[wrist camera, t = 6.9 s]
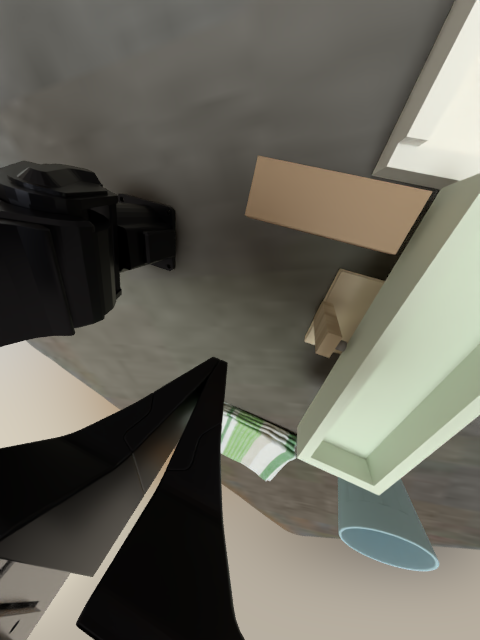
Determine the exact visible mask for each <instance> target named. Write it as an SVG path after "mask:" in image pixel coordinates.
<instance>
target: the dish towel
mask: <svg viewBox="0 0 480 640" xmlns="http://www.w3.org/2000/svg"><path fill="white" fill-rule="evenodd" d="M296 445H297V436H295V435H293V434H290V433H289V432H287V431H285V430H283V429H281V428H279V427H277V426H275V425H272V424H270V423H268V422H266V421H264V420H262V419H260V418H258V417H256V416H254V415H251V414H249V413H247V412H245V411H242V410H240V409H238V408H236V407H233V406H231V405H229V404H227V403H225V402H224V409H223V420H222V432H221V453H222V454H223V455H225V456H227V457H229V458H231V459H233V460H235V461H237V462H240V463H242V464H244V465H245V466H246V467H248V468H249V469H251V470H253V471H254V472H255V473H257V474H258V475H259V476H260V477H261V478H262V479H263V480H265V481H267V480H269V481H271V480H272V479H273V477H274V476H275V475H276V474H277V473H278V472H279V471H280V470H281V468H282V467H283V466H284V465H285V464H286V463H288V462H289V461H291V460H293V459H296V457H297V454H296V453H295V452H294V451H295V447H296Z"/></svg>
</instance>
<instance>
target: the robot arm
mask: <svg viewBox="0 0 480 640" xmlns="http://www.w3.org/2000/svg"><path fill="white" fill-rule="evenodd" d="M123 198H124V201H123ZM118 202H119V203H118ZM169 210H170V215H169V212H168V211H169ZM148 264H151V265H154V266H157V267H160V268H163V269H166V270H169V271H171V270H173V269H174V267H175V211H174V209H173V208H172V207H170V206H166V205H163V204H159V203H155V202H152V201H148V200H144V199H141V198H137V197H133V196H130V195H126V194H119V195H117V194H115V193H113V192H110V191H108V190H106V189H105V188H103V185H102V184H101V183H100V181H99V180H98V178H97V176H96V175H95V173H94V172H92V171H90V170H87V169H83V168H78V167H74V166H68V165H62V164H42V165H40V164H36V163H32V162H27V161H21V162H18V163H15V164H12V165H8V166H5V167H2V168H0V347H2V346H5V345H9V344H13V343H17V342H20V341H24V340H29V339H33V338H39V337H47V336H72V335H74V334H75V330H74V328H79V327H83V326H87V325H91V324H94V323H96V322H98V321H101V320H103V319H104V318H105V316H104V315H106V314H107V313H108V312H109V311H110V310H112V309H113V308H114V305H115V303H116V299H117V298H118V297H119V296H120V295H121V294H122V291H121V288H120V273H121V272H124V271H127V270H132V269H135V268H138V267H141V266H145V265H148ZM169 265H170V266H171V267H170V266H169ZM227 364H228V363H227V362H225V361H223V360H220V359H218V358H215V357H212V358H210V359H208V360H207V361H205V362H203V363H202V364H200V365H198V366H197V367H195V368H193V369H192V370H190V371H188V372H187V373H185V374H183V375H181V376H180V377H178V378H176V379H175V380H173V381H171V382H170V383H168V384H166V385H165V386H163V387H161V388H160V389H158V390H156V391H155V392H154V393H151V394H150V395H148V396H146V397H145V398H143V399H141V400H139V401H138V402H136V403H134V404H132V405H130V406H128V407H126V408H124V409H122V410H120V411H118V412H116V413H115V414H112V415H110V416H108V417H106V418H104V419H102V420H100V421H98V422H96V423H94V424H92V425H89V426H87V427H85V428H83V429H81V430H79V431H76V432H74V433H71V434H68V435H65V436H61V437H57V438H52V439H47V440H42V441H36V442H31V443H26V444H21V445H16V446H11V447H5V448H0V640H26V639H27V638H28V636H29V635H30V633H31V632H32V630H33V629H34V627H35V625H36V624H37V623H38V621H39V620H40V618H41V617H42V615H43V614H44V612H45V611H46V609H47V608H48V606H49V605H50V603H51V602H52V600H53V599H54V597H55V596H56V594H57V593H58V591H59V589H60V588H61V587H62V585H63V584H64V582H65V580H66V579H67V577H68V576H69V574H70V573H75V574H80V575H85V576H90V577H93V576H94V574H95V573H96V571H97V570H98V568H99V566H100V565H101V563H102V562H103V560H104V559H105V557H106V555H107V554H108V552H109V551H110V549H111V547H112V546H113V544H114V543H115V541H116V539H117V538H118V536H119V535H120V533H121V531H122V530H123V528H124V527H125V525H126V523H127V522H128V520H129V519H130V517H131V516H132V514H133V513H134V511H135V509H136V508H137V506H138V504H139V503H140V501H141V500H142V498H143V497H144V494H145V493H146V492H147V490H148V489H149V487H150V485H151V484H152V482H153V481H154V479H155V477H156V476H157V474H158V473H159V471H160V470H161V468H162V466H163V465H164V463H165V462H166V460H167V458H168V457H169V455H170V454H171V452H172V450H173V449H174V447H175V446H176V444H177V443H178V444H177V447H176V449H175V451H174V453H173V455H172V457H171V460H170V462H169V464H168V466H167V469H166V471H165V473H164V475H163V477H162V479H161V481H160V483H159V485H158V487H157V489H156V491H155V493H154V494H153V496H152V498H151V499H150V501H149V502H148V504H147V506H146V507H145V509H144V511H143V512H142V514H141V515H140V517H139V519H138V520H137V522H136V524H135V525H134V527H133V528H132V530H131V532H130V533H129V535H128V537H127V538H126V540H125V541H124V543H123V545H122V546H121V548H120V550H119V551H118V553H117V554H116V556H115V558H114V560H113V561H112V563H111V564H110V566H109V568H108V569H107V571H106V572H105V574H104V576H103V577H102V579H101V581H100V582H99V584H98V585H97V587H96V589H95V590H94V592H93V594H92V595H91V597H90V599H89V600H88V602H87V604H86V605H85V607H84V609H83V611H82V613H81V615H80V616H79V618H78V621H77V623H76V625H77V627H78V628H79V629H81V630H82V631H83V632H85V633H86V634H87V635H89V636H90V637H92V638H93V639H94V640H245V639H244V637H243V636H242V634H241V632H240V630H239V627H238V624H237V621H236V618H235V613H234V607H233V599H232V591H231V584H230V576H229V567H228V559H227V552H226V544H225V535H224V526H223V513H222V490H221V432H222V420H223V409H224V398H225V386H226V375H227ZM179 439H180V440H179ZM178 441H179V442H178Z"/></svg>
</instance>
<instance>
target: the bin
mask: <svg viewBox="0 0 480 640" xmlns="http://www.w3.org/2000/svg"><path fill="white" fill-rule="evenodd" d="M479 173H480V0H455V1H454V3H453V6H452V8H451V10H450V12H449V14H448V16H447V18H446V20H445V22H444V24H443V26H442V29H441V31H440V33H439V35H438V37H437V39H436V41H435V43H434V45H433V47H432V50H431V52H430V54H429V56H428V58H427V60H426V62H425V64H424V66H423V68H422V71H421V73H420V75H419V77H418V79H417V81H416V83H415V85H414V87H413V89H412V92H411V94H410V96H409V98H408V100H407V102H406V104H405V106H404V108H403V110H402V113H401V115H400V117H399V119H398V121H397V123H396V125H395V127H394V129H393V131H392V134H391V136H390V138H389V140H388V142H387V144H386V146H385V148H384V150H383V152H382V155H381V157H380V159H379V161H378V163H377V165H376V167H375V169H374V171H373V173H372V176H375V177H380V178H385V179H390V180H395V181H400V182H405V183H410V184H415V185H420V186H425V187H430V188H435V189H440V190H441V188H443V187H446V186H448V185H451V184H453V183H456V182H458V181H461V180H464V179H466V178H469V177H471V176H474V175H476V174H479Z"/></svg>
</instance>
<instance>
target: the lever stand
mask: <svg viewBox="0 0 480 640" xmlns="http://www.w3.org/2000/svg"><path fill="white" fill-rule="evenodd" d="M384 282H385V281H383V280H379V279H376V278H372V277H369V276H365V275H362V274H358V273H355V272H351V271H348V270H344V269H341V268H340V269H339V271H338V273H337V275H336V277H335V279H334V281H333V283H332V285H331V287H330V289H329V291H328V293H327V295H326V296H325V298H324V300H323V301H322V303H321V305H320V307H319V309H318V310H317V312H316V314H315V316H314V320H313V322H312V324H311V326H310V328H309V329H308V331H307V333H306V335H305V342H307V343H310V344H313V345H315V352H316V354H319V355H322V356H325V357H327V358H329V357H330V356H331V354H332V353H333V352H335V353H338V354H341V353H342V352H344V351H345V349H346V347H347V343H348V342H349V340H350V338H351V337H352V335H353V333H354V332H355V330H356V329H357V327H358V325H359V324H360V322H361V320H362V319H363V317H364V315H365V314H366V312H367V310H368V309H369V307H370V305H371V304H372V302H373V300H374V299H375V297H376V295H377V294H378V292H379V291H380V289H381V287H382V286H383V284H384Z"/></svg>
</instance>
